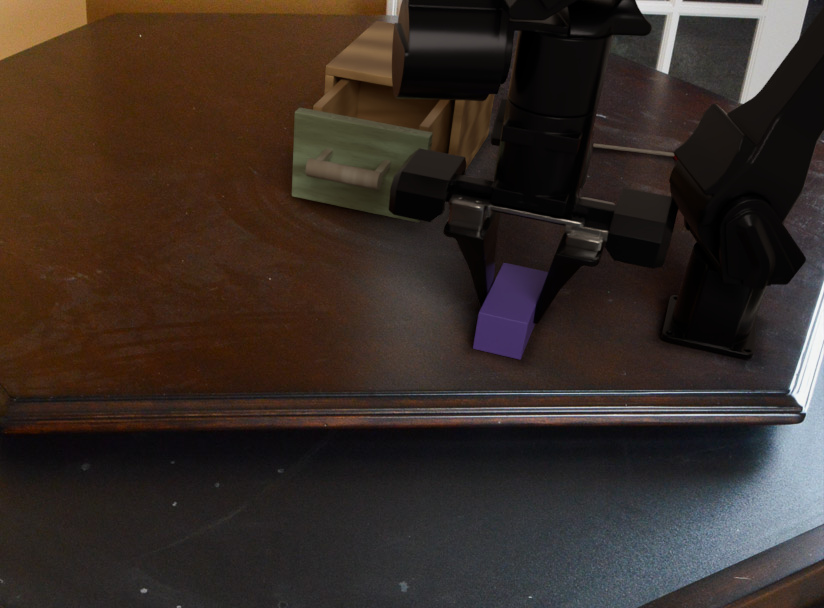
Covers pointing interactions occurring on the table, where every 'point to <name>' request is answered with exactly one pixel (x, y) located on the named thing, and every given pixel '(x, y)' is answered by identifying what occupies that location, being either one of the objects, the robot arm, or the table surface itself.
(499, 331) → the purple rectangular prism
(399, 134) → the drawer
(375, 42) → the cabinet
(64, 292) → the table surface
